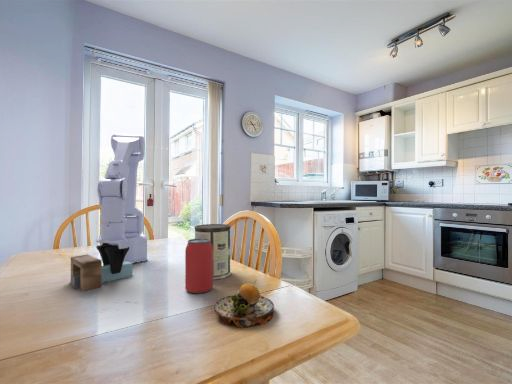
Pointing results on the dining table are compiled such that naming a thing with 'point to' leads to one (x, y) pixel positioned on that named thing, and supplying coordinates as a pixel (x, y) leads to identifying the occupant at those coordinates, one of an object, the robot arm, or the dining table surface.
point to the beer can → (199, 266)
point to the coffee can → (217, 246)
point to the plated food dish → (245, 307)
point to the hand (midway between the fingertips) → (112, 271)
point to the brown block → (87, 271)
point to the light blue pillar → (107, 274)
